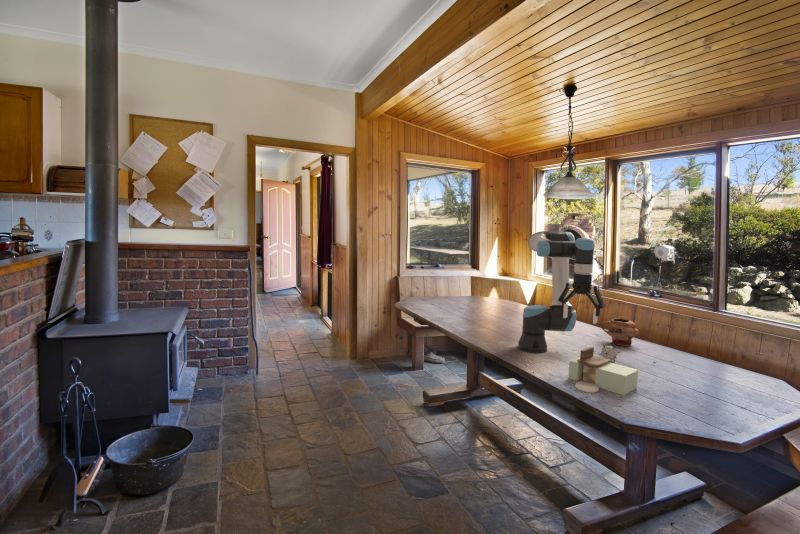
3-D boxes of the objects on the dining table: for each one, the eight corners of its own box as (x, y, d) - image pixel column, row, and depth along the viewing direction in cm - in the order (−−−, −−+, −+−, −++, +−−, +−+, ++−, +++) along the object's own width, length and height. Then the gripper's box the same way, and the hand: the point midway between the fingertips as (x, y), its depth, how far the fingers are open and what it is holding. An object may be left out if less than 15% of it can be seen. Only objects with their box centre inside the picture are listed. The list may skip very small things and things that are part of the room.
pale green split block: (568, 378, 198) (569, 360, 197) (581, 372, 206) (583, 355, 205) (624, 395, 180) (625, 376, 179) (636, 388, 188) (638, 369, 187)
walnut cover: (577, 362, 194) (577, 350, 194) (590, 356, 202) (591, 346, 202) (597, 367, 188) (598, 356, 187) (610, 362, 195) (611, 350, 195)
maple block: (582, 380, 196) (583, 364, 195) (589, 377, 200) (590, 361, 199) (596, 384, 192) (597, 368, 191) (602, 381, 196) (603, 365, 195)
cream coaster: (571, 387, 187) (571, 384, 187) (581, 382, 193) (582, 380, 193) (592, 394, 180) (592, 391, 180) (602, 389, 186) (602, 386, 186)
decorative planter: (596, 342, 256) (598, 318, 255) (602, 338, 266) (603, 315, 264) (635, 349, 244) (637, 324, 243) (639, 344, 254) (641, 320, 252)
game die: (612, 369, 222) (623, 357, 216) (595, 362, 224) (605, 350, 217) (612, 356, 229) (623, 344, 222) (596, 349, 230) (606, 337, 223)
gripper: (552, 270, 205) (549, 316, 207) (608, 277, 187) (604, 327, 189) (560, 269, 210) (557, 314, 212) (615, 275, 192) (611, 324, 194)
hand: (579, 320), depth 201 cm, fingers open, 13 cm apart
